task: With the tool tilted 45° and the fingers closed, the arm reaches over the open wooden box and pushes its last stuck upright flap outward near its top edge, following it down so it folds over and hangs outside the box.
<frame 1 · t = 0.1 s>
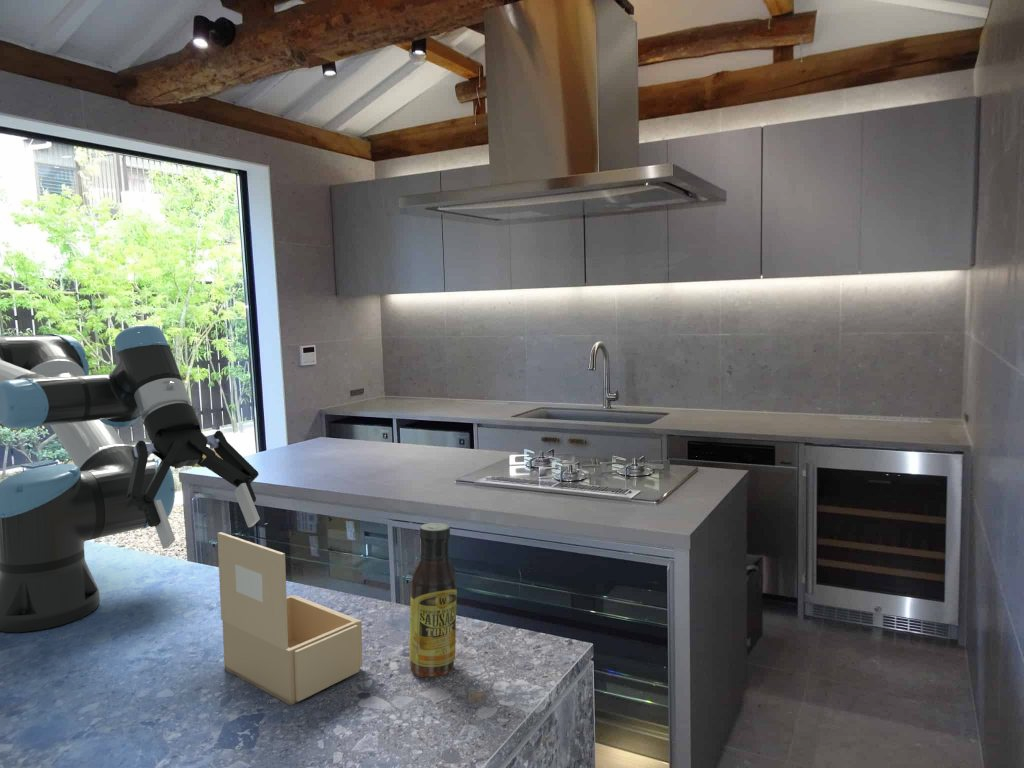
hand: (213, 533, 109), 15 cm above the counter, tool tilted 35°, fingers open, 13 cm apart
sauce bottle: (433, 670, 98), on the counter
wooden box: (292, 670, 98), on the counter
flap: (251, 588, 92), point 13 cm above the counter, hinge at 0.0°
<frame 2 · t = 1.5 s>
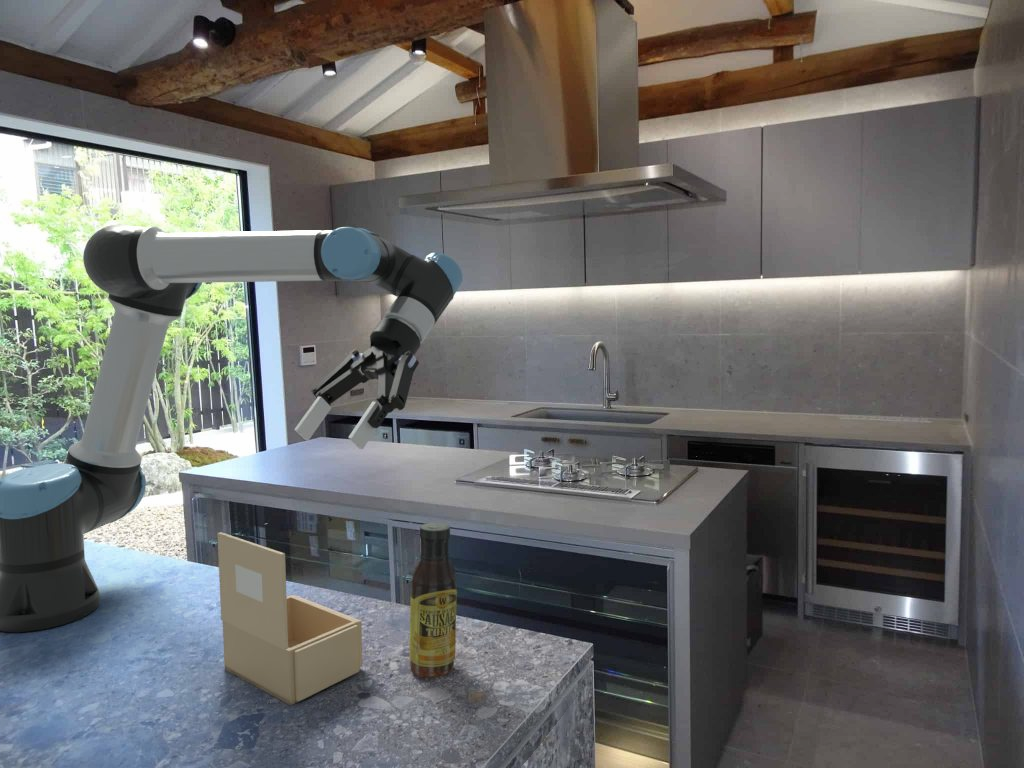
hand: (327, 439, 106), 30 cm above the counter, tool tilted 45°, fingers open, 12 cm apart
nothing on the counter moved.
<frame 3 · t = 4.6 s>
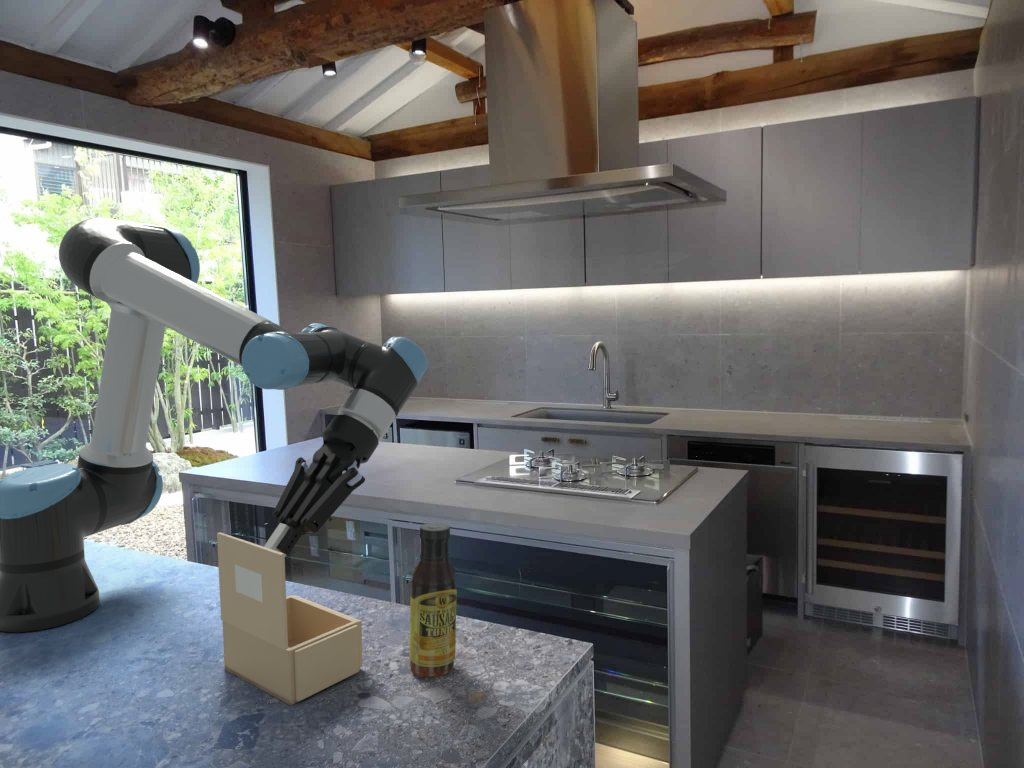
hand: (260, 572, 93), 15 cm above the counter, tool tilted 45°, fingers closed
flap: (250, 588, 92), point 13 cm above the counter, hinge at 0.5°, touching gripper
everything else where it was.
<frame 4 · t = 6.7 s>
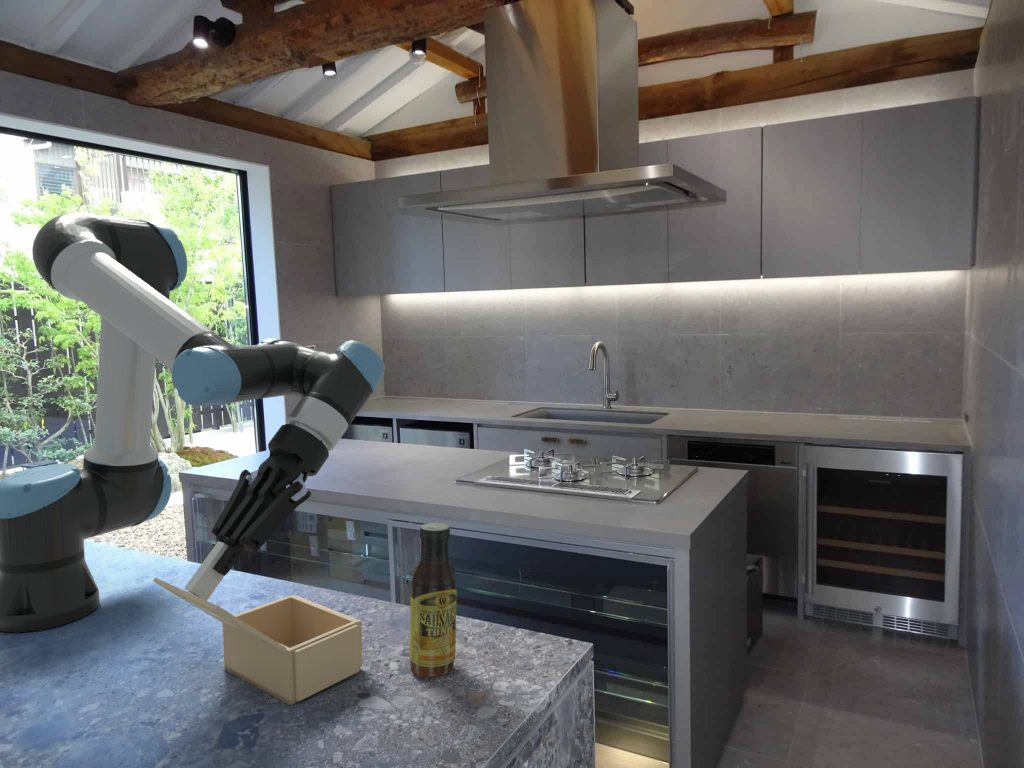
hand: (195, 594, 86), 15 cm above the counter, tool tilted 45°, fingers closed
flap: (219, 614, 89), point 11 cm above the counter, hinge at 46.6°, touching gripper
everything else where it was.
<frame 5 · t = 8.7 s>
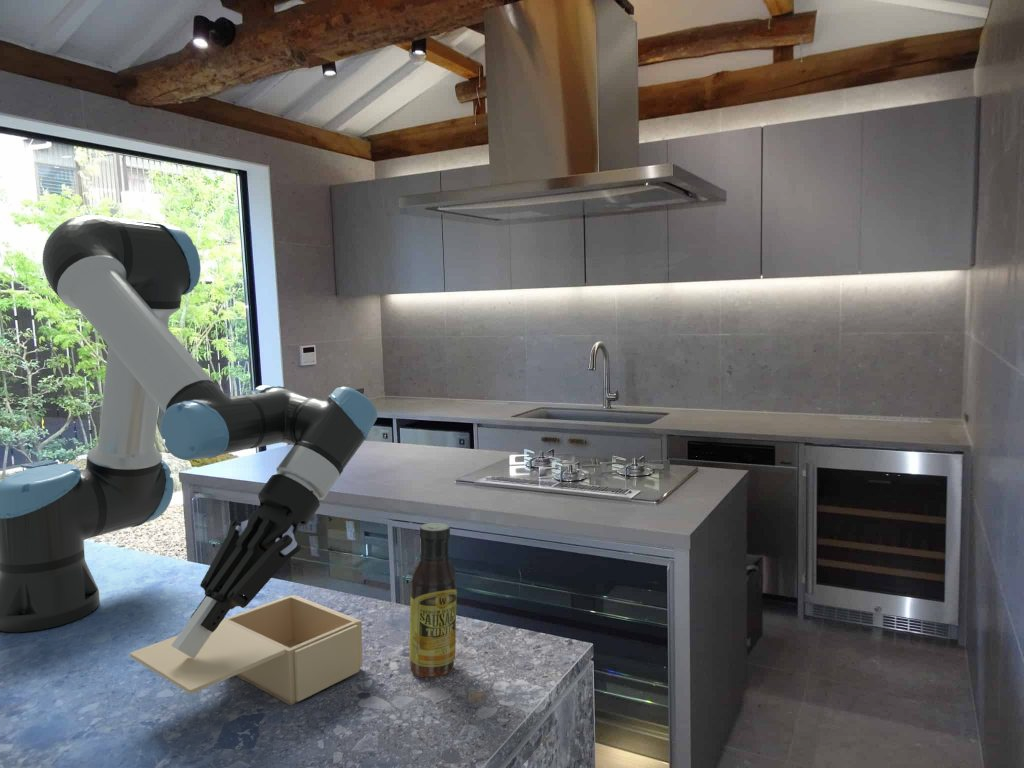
hand: (182, 652, 85), 8 cm above the counter, tool tilted 45°, fingers closed
flap: (207, 653, 88), point 7 cm above the counter, hinge at 90.4°, touching gripper
everything else where it was.
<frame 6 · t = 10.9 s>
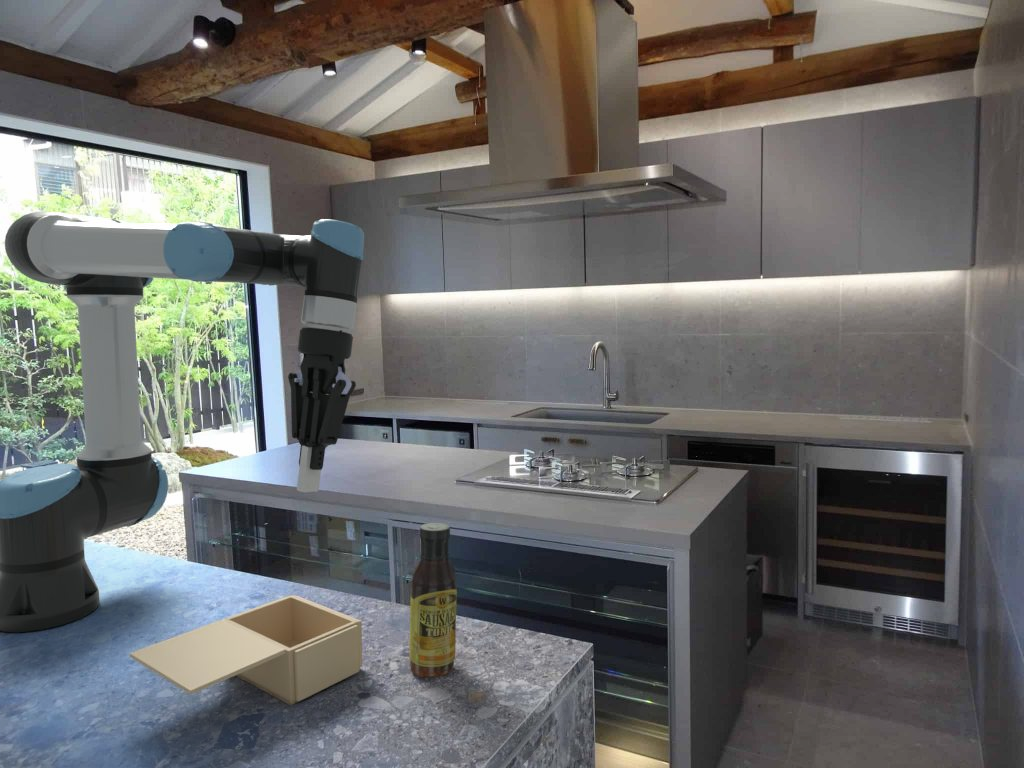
hand: (307, 490, 104), 23 cm above the counter, tool pointing down, fingers closed
flap: (207, 653, 88), point 7 cm above the counter, hinge at 90.6°
everything else where it was.
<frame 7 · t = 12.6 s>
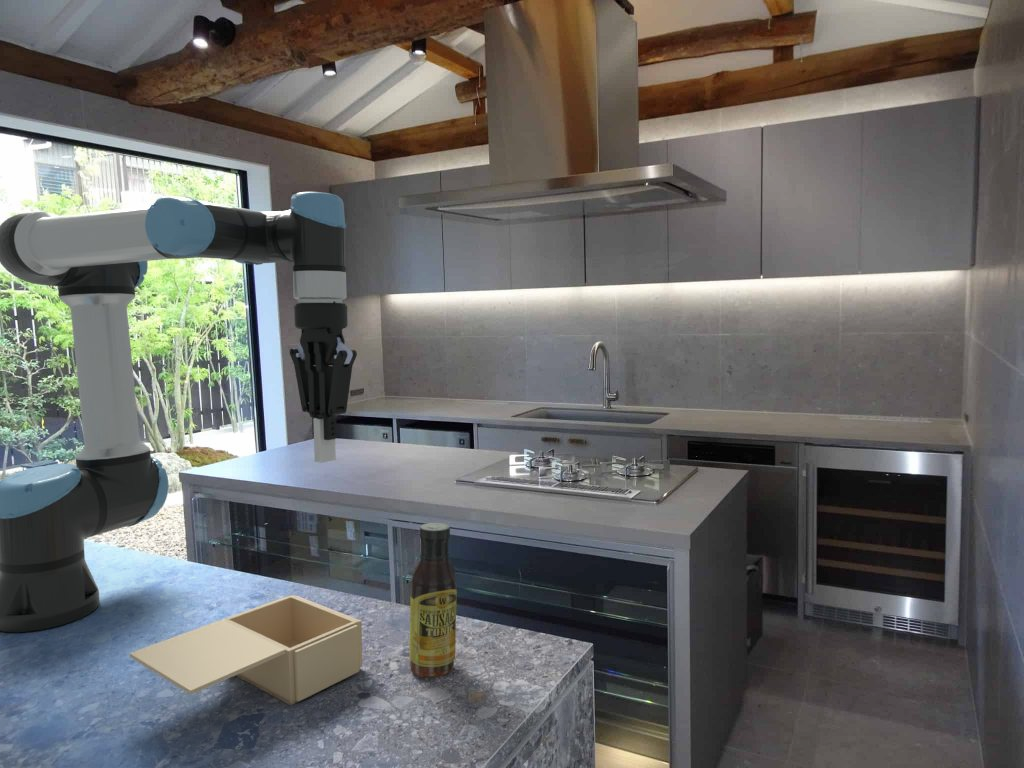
hand: (325, 460, 108), 26 cm above the counter, tool pointing down, fingers closed
nothing on the counter moved.
at the end: flap at +91° (first picture: +0°) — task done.
